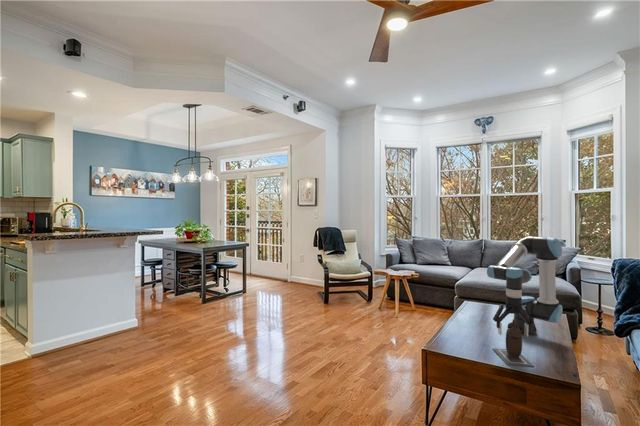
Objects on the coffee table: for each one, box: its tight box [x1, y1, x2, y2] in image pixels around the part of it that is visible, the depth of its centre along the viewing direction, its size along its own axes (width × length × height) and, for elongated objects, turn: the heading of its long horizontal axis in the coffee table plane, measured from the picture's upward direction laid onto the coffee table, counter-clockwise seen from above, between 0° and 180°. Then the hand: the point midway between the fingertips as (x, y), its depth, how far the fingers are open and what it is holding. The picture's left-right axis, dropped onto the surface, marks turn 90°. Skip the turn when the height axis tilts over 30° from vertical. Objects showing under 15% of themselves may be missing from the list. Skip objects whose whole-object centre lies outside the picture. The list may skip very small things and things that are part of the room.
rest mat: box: [492, 348, 535, 368], centre depth 183 cm, size 13×20×1 cm, turn 172°
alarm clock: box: [505, 318, 523, 359], centre depth 183 cm, size 15×7×20 cm, turn 155°
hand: (512, 334), depth 184 cm, fingers open, 13 cm apart
